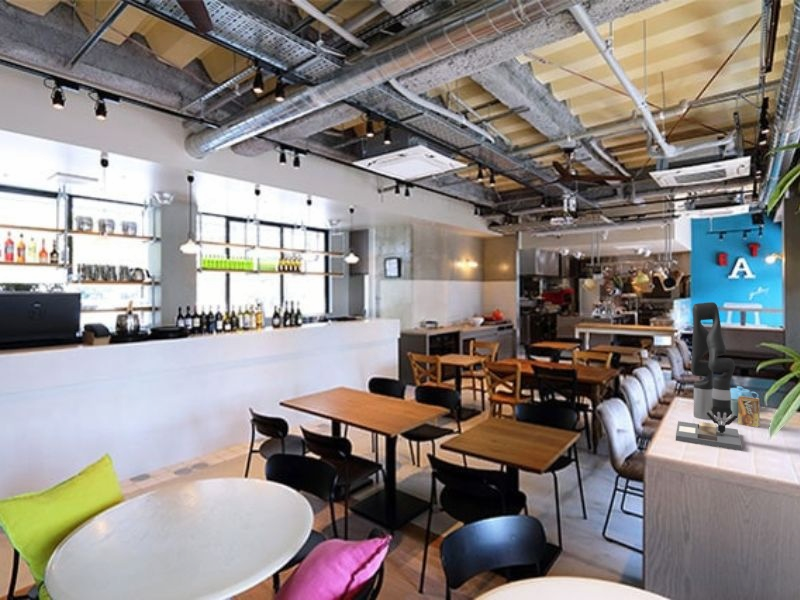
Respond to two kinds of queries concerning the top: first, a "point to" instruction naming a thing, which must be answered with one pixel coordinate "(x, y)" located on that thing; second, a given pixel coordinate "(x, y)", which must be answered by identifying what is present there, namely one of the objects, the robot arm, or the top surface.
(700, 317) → the robot arm
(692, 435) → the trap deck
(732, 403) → the cup
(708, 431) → the maple block
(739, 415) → the candy box
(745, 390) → the decorative pot
